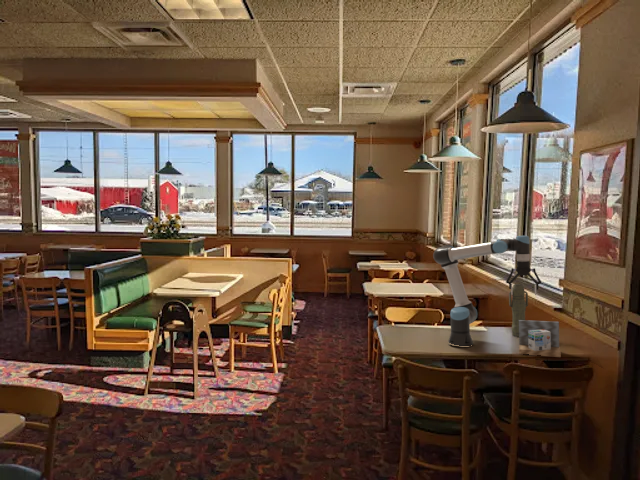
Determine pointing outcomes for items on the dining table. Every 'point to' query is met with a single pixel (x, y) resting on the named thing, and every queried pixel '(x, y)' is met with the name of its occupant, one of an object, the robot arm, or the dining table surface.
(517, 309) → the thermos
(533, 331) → the light bulb box
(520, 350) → the wall board
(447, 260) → the robot arm
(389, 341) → the dining table surface
